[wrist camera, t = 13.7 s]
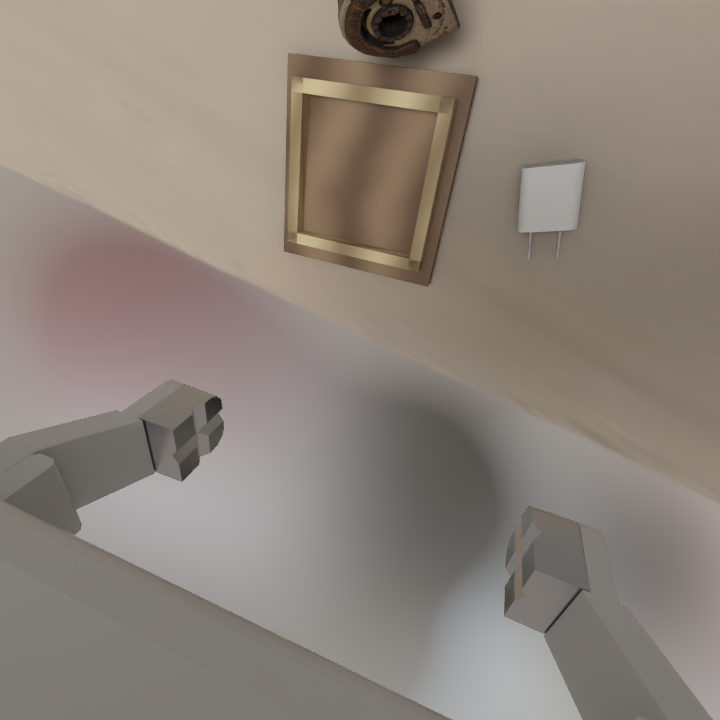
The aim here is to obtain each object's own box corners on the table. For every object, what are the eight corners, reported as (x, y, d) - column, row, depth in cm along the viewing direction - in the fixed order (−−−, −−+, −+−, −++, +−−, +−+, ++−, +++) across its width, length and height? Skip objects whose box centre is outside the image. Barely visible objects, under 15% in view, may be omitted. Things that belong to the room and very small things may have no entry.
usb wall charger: (579, 158, 29) (587, 162, 26) (567, 252, 32) (573, 266, 29) (521, 165, 30) (521, 168, 27) (515, 254, 33) (515, 267, 30)
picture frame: (478, 77, 29) (475, 74, 27) (429, 283, 37) (425, 290, 35) (293, 55, 32) (280, 50, 30) (288, 248, 40) (278, 254, 39)
